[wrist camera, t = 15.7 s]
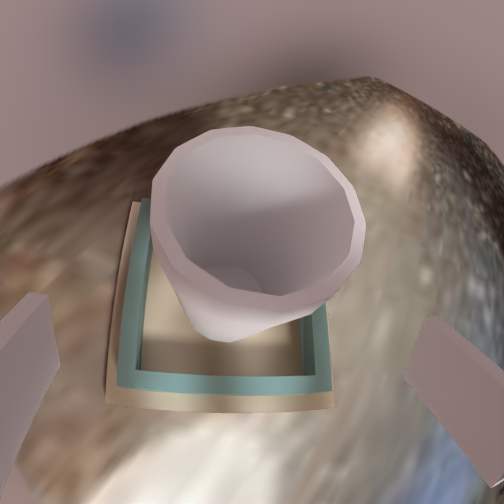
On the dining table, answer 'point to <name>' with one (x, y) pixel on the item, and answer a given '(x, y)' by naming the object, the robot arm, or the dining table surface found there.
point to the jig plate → (205, 348)
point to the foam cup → (253, 230)
